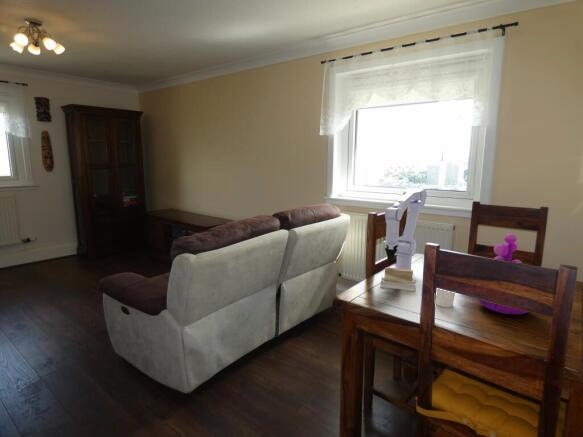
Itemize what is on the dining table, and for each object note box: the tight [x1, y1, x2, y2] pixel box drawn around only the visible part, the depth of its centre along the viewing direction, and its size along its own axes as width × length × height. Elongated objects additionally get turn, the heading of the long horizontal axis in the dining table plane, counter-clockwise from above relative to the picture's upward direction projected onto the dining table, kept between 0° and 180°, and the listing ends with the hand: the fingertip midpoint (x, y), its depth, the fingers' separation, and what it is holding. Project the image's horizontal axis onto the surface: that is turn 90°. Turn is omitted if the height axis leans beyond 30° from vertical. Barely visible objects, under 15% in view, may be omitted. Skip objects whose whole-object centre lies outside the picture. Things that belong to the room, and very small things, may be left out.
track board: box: [379, 276, 417, 292], centre depth 155 cm, size 7×15×2 cm, turn 71°
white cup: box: [435, 289, 456, 308], centre depth 135 cm, size 8×8×10 cm
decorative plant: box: [477, 233, 528, 315], centre depth 128 cm, size 19×18×30 cm
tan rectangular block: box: [384, 267, 414, 284], centre depth 154 cm, size 2×12×7 cm, turn 71°
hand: (390, 260), depth 163 cm, fingers open, 7 cm apart
